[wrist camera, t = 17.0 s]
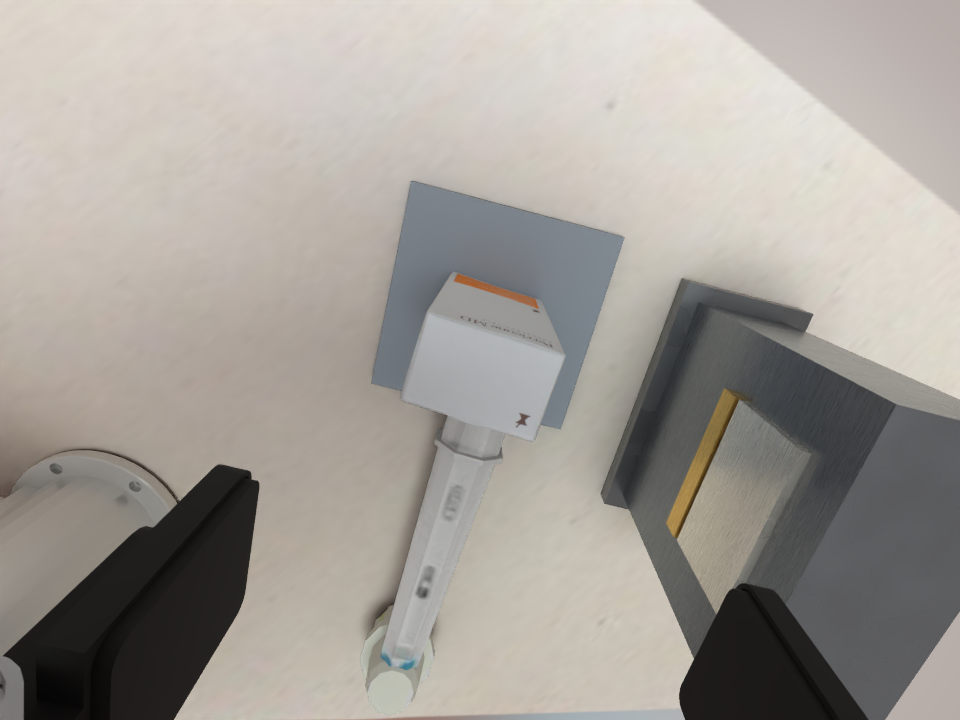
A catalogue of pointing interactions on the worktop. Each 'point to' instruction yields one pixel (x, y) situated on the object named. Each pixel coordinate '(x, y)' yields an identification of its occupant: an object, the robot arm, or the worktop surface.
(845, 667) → the mounted unit
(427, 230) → the slate mat
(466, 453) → the white elongated piece
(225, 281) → the worktop surface
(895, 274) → the worktop surface
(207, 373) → the worktop surface
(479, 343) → the skincare box
